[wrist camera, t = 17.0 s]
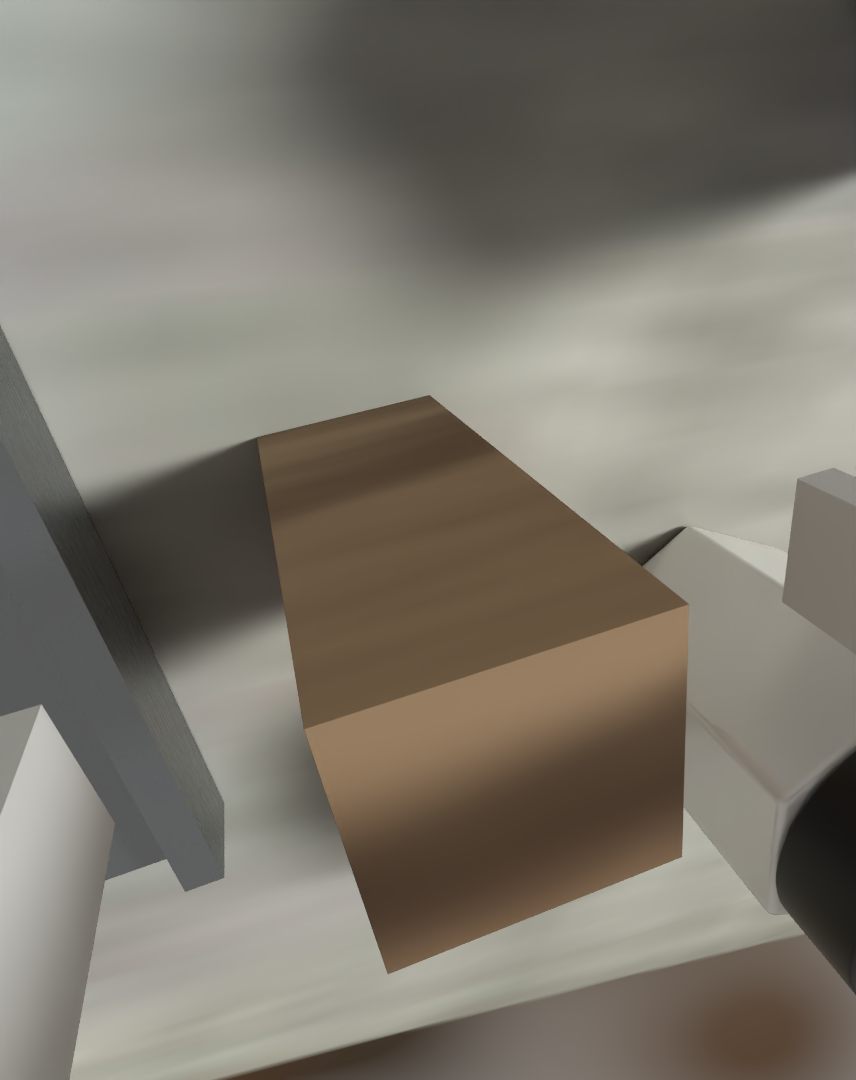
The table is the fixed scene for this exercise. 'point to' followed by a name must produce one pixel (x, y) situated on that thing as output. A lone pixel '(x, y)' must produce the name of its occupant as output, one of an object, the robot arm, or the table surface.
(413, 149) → the table surface
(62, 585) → the trough
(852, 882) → the jar
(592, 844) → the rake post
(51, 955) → the robot arm
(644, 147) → the table surface
